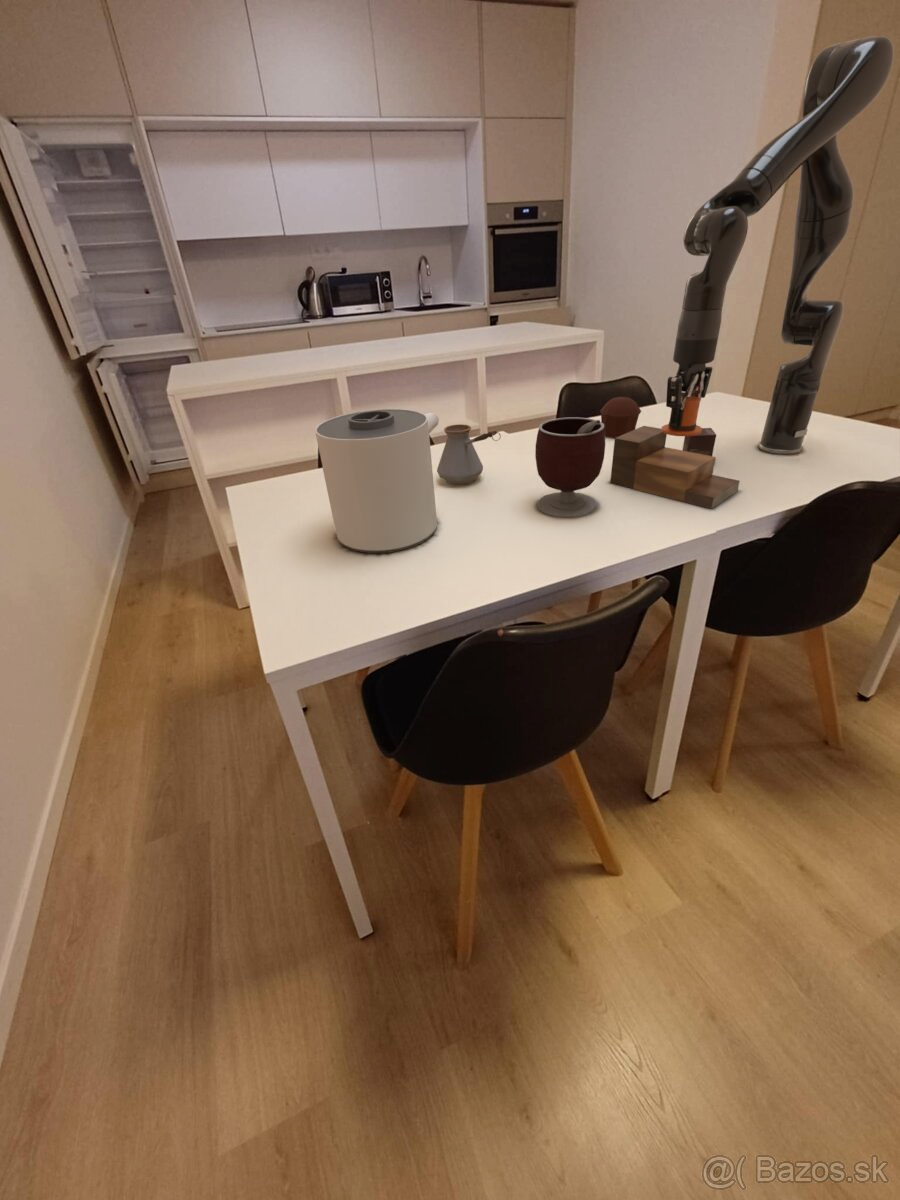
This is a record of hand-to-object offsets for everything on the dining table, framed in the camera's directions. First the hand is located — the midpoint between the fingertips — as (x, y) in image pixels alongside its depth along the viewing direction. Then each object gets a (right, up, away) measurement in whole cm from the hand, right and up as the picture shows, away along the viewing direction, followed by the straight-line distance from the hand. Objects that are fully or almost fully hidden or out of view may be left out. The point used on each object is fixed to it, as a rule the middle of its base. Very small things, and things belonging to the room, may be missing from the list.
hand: (682, 423), depth 111 cm
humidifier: (-60, -22, 0) cm, 64 cm away
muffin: (0, +11, +43) cm, 45 cm away
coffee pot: (-44, -9, +17) cm, 48 cm away
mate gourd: (-23, -17, +3) cm, 29 cm away
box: (+12, -3, +21) cm, 24 cm away
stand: (+1, -12, +8) cm, 14 cm away
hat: (0, -1, +1) cm, 1 cm away
